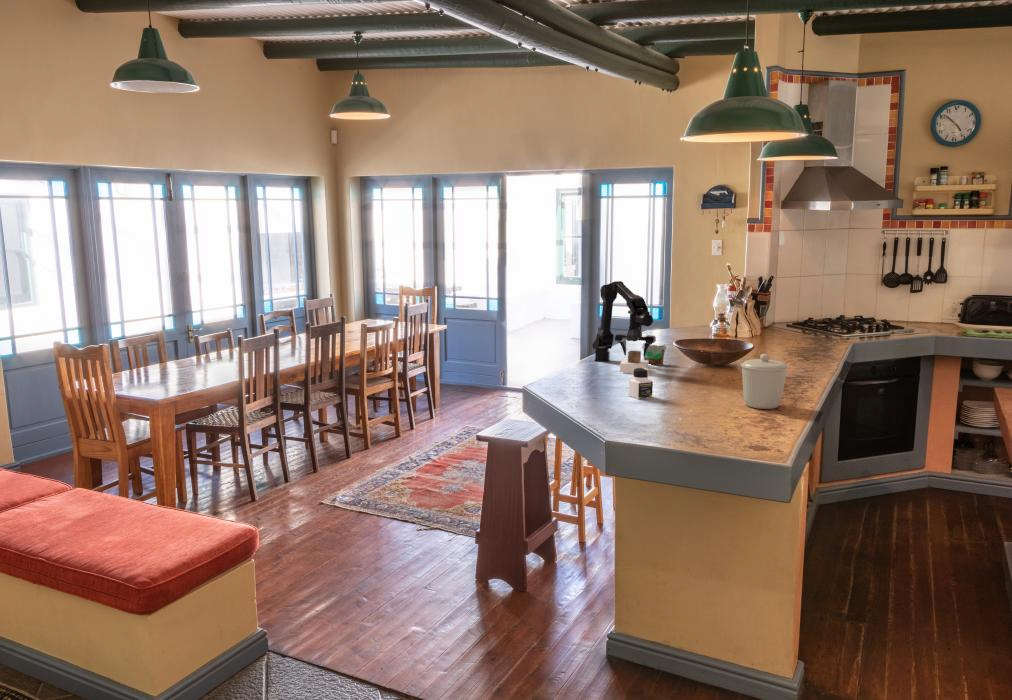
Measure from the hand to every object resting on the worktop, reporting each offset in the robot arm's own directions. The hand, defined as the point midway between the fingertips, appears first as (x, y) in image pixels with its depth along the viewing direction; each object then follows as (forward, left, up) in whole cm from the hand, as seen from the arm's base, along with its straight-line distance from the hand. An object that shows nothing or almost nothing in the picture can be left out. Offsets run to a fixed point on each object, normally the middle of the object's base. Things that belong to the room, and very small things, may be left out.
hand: (634, 355), depth 381 cm
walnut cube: (0, 0, -3) cm, 3 cm away
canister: (+63, -49, -8) cm, 80 cm away
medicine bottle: (+15, -52, -8) cm, 55 cm away
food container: (+4, +21, -8) cm, 23 cm away
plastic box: (0, 0, -8) cm, 8 cm away
